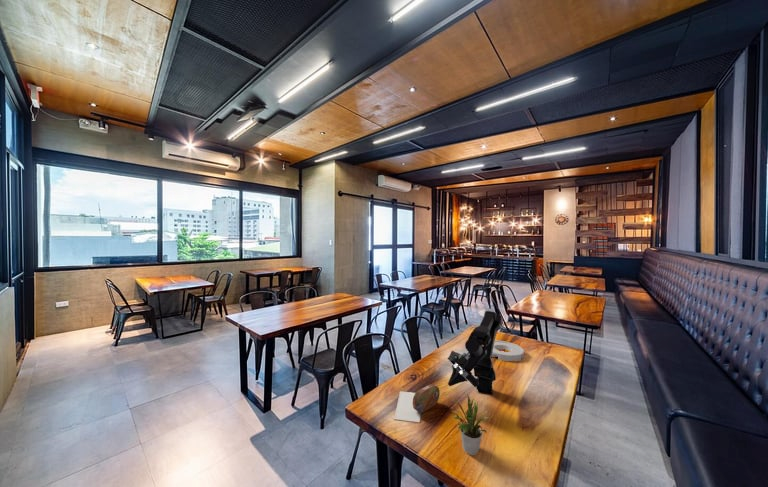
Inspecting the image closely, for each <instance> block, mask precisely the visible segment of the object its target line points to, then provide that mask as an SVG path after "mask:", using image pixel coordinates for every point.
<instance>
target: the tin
mask: <svg viewBox="0 0 768 487" xmlns="http://www.w3.org/2000/svg"><path fill="white" fill-rule="evenodd" d="M414 393H415V395H414V397H413V408H414V409H415V410H416V411H418V412H419V413H420V414H422V413H424V412H426V411H428V410H429V409H431V408H433V407H434V406H435V405H436V404H437V403H438V401H439V398H440V394H441V392H440V388H439V386H437V385H434V384H433V383H432V384H431V383H430V384H428V385H426V386H424V387H422V388H420V389H417V391H416V392H414Z"/></svg>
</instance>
